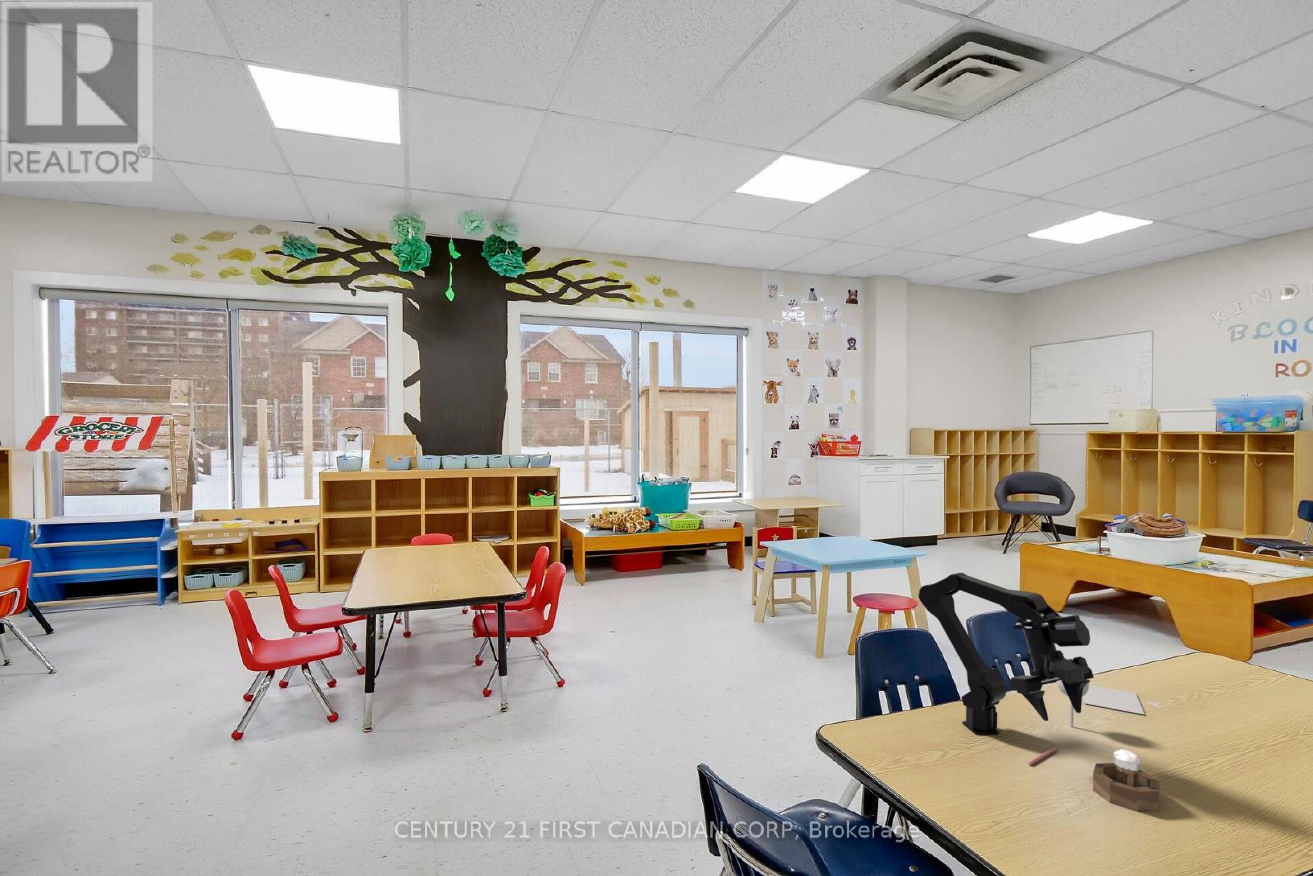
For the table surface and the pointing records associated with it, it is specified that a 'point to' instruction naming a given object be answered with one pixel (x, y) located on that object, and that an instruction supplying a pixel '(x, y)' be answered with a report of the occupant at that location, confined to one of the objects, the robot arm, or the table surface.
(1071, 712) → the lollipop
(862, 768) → the table surface
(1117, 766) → the milkshake
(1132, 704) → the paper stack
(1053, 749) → the pink rod
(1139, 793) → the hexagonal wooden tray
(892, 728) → the table surface
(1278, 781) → the table surface
